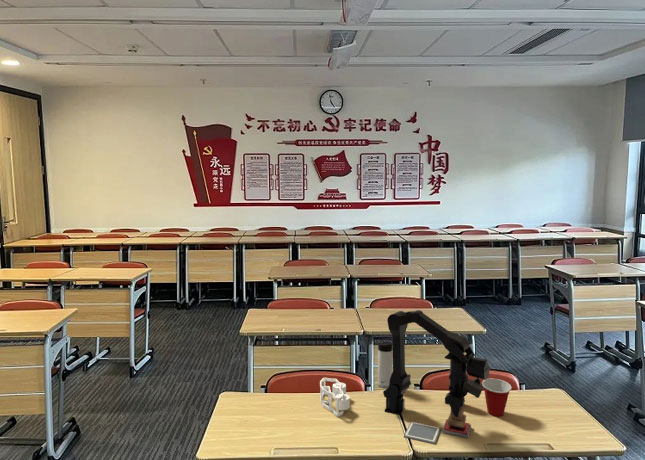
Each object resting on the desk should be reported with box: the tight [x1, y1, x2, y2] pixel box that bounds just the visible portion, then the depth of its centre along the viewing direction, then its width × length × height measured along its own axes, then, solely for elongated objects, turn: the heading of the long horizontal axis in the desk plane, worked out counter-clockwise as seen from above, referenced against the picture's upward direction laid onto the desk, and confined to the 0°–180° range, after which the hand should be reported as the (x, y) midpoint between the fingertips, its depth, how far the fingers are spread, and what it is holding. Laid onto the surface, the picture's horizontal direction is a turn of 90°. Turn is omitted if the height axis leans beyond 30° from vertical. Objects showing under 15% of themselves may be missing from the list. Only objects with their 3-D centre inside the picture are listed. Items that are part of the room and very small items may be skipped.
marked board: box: [403, 421, 442, 445], centre depth 165 cm, size 11×11×1 cm
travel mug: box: [377, 341, 393, 390], centre depth 204 cm, size 6×7×20 cm
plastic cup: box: [481, 377, 513, 418], centre depth 178 cm, size 11×11×12 cm
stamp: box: [447, 404, 467, 428], centre depth 166 cm, size 6×6×9 cm
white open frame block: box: [319, 377, 351, 417], centre depth 187 cm, size 20×11×7 cm, turn 5°
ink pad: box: [441, 418, 472, 439], centre depth 167 cm, size 9×8×2 cm
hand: (457, 414), depth 166 cm, fingers closed on stamp, 4 cm apart
